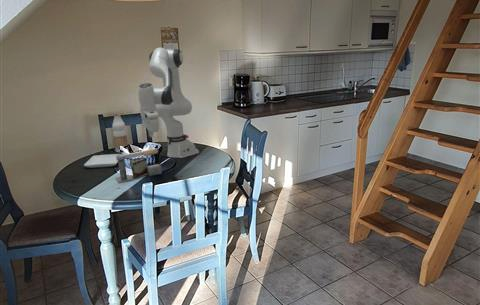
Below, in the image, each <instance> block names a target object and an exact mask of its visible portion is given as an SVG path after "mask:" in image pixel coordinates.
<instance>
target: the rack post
mask: <svg viewBox="0 0 480 305" xmlns="http://www.w3.org/2000/svg"><path fill="white" fill-rule="evenodd" d="M125 160H126V159H124V160H118V162H117V164H118V169H119V176H116V177H115V181H116V182H117V183H118V184H123V183H126V182H132V181H133V177H131V175H130V174H127V168H126V167H127V166H126V161H125Z"/></svg>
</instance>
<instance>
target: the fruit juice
mask: <svg viewBox="0 0 480 305" xmlns="http://www.w3.org/2000/svg"><path fill="white" fill-rule="evenodd" d="M121 115H122V114H121V113H119V112H118V113H117V112H116V113H113V117H114V118H113V121H112V126H111V127H112V128H111V129H112V130H113V131H112V135H113V142H114V149H115V152H116V153H121V152H120V149H119V147H120V146H127V145H128V146H129V143H128V136H127V135H128V134H127V130H126V124H125V122H124V120H123V119H122V117H121Z"/></svg>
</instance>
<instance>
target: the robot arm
mask: <svg viewBox="0 0 480 305" xmlns="http://www.w3.org/2000/svg"><path fill="white" fill-rule="evenodd" d="M148 57H149V59H148V60H149V65H148V66H149V71H150V73H151V74H152V75H153V76H154V77H157V78H161V79H162V83H163V87H153V86H154V85H153V84H152V83H150V82H149V83H147V82H145V83H142V84H140V85H138V102H139V111H140V117H141V125H142V127H144V128H145V129H147V133H148V136H149V137H150V138H154V133H156V132H159V131H160V123H159V122H160V121H159V118H161V120H163V122H164V124H165V128H166V134H167V135H166V140H167V141H166V142H167V153H166V156H167V157H169V158H179V159H183V158H186V157H190V156H193V155H197V154H199V153H200V150H199V149H198V148H196V145H195V143H193V142H192V141H190V140H189V135H188V134H185V133H184V126H183V123H182V122H181V121H180V120H178V119H176V118H174V117H176V116H186V115H190V114H191V113H192V111H193V105H192V102H191V101H190V100H189V99H187V98H186V97H185V96H184V95H183V93H182V92H183V91H182V89H181V82H180V81H181V80H180V72H179V71H180V70H179V68H180V66H181V65H182V63H183V62H184V56H183V52H182V51H181V50H180V49H177V48H174V49H166V48H164V47H157V48H155V49H154V51H151V52H150V53H149V56H148Z"/></svg>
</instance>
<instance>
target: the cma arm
mask: <svg viewBox="0 0 480 305" xmlns="http://www.w3.org/2000/svg"><path fill="white" fill-rule="evenodd" d="M158 153H159V149H158V148H151V149H146V150H141V151H136V152H130V153H125V154H124V153H119V154H120V155H117V156H116V159H117V160H126V159H129V158H130V159H131V158H137V157H141V156H144V157H146V156H152V155H156V154H158Z"/></svg>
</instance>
